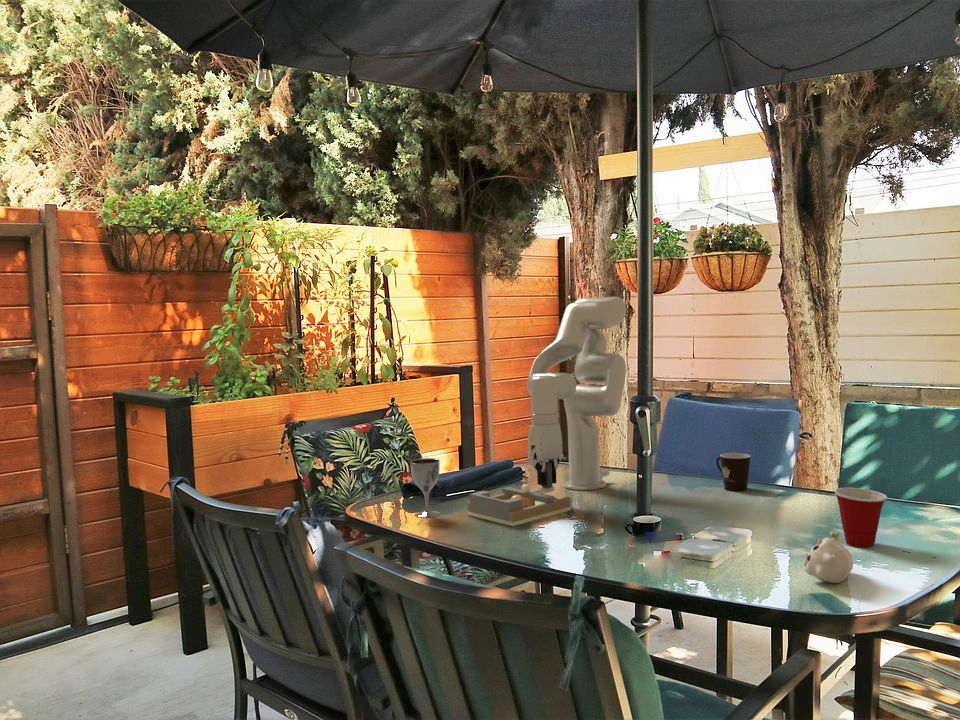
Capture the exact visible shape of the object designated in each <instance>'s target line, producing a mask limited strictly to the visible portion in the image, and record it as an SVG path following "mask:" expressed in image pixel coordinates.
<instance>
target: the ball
mask: <svg viewBox="0 0 960 720" xmlns="http://www.w3.org/2000/svg"><path fill="white" fill-rule="evenodd" d="M511 498H520V499H523V498H522V497H521V496H520V495H514V496H512V497H511ZM523 505H524V499H523Z"/></svg>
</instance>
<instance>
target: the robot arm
mask: <svg viewBox="0 0 960 720" xmlns="http://www.w3.org/2000/svg"><path fill="white" fill-rule="evenodd" d="M626 315H627V305H626V303H625V301H624V300H623V298H621V297H619V296H601V297H596V296H595V297H593V296H592V297H583V298H579V299H577V300H576V301H574V302H572V303H570V304H568V305H567V306H566V308H565V310H564V313H563V315H562V318H561V322H560V324H559V327H558V330H557V331H558V332H557V334H556V337H555V339H554V341H553V342H552V343H551V344H549V345H548V346H546V348H544V349H543V350H542V351H541V352H540V353H539V354H538V355H537V356H536V358H535V359H534V361H533V362H532V365H531V367H530V370H529V374H528V378H527V383H526V388H527V389H526V390H527V392H528V393H529V395H530V404H531V405H530V407H531V408H530V409H531V411H530V412H531V414H530V415H531V424H530V425H529V428H528V433H527V435H528V436H527V457H528V464H529V465H530V466H533V468H534V469H535V471H536V473H537V476H536V477H537V485H538V486H542V485H543V486H546V485H547V472H546V471H545V462H546V461H549V462H552V484H557V470H558V469H559V467H558V465H559V463H560V462H561V461H562V459H563V458H564V457H565V455H564V454H563V437H562V429H561V425H560V423H559V418H560V414H559V400H563V405H564V406H563V407H564V410H565V414H566V422H567V439H568V440H567V442H568V444H567V445H568V470H569V471H568V472H569V473H568V476H569V479H568V480H565V482H564V487H565V488H566V489H570V490H577V491H578V490H579V491H592V490H593V491H594V490H598V489H602V488H605V487H606V481H605V480H603V478H605V477H608V476H610V473H611V472H610V471H609V470H608V469H604V470H602V469H601V459H600V457H601V456H600V431H599V427H598V424H597V423H596V421H595V419H594V418H593V417H614V416H616V415H617V414H618V413H619V410H620V409H621V408H620V407H621V405H622V397H623V393H624V386H625V383H626V382H625V380H626V375H627V366H626V365H627V364H626V361H625V358H624V357H623V356H622V355H621V354H619V353H615V352H607V348H608V347H607V346H608V340H607V338H606V336H605V334H604V333H603V331H602V330H606V329H610V328H613V327H615V326H617V325H619V324H621V323H622V322H623V321H624V320H625V318H626ZM575 357H576V360H575V365H574V376H573V375H572V374H570V373H567V372H549V371H550V370H551V369H552V368H553V367H555V366H556V365H558V364H561V363H562V362H566V361H567V360H569V359H572V358H575ZM577 381H578V382H580V383H584V384H577V383H578V382H577Z"/></svg>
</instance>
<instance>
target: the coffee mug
mask: <svg viewBox="0 0 960 720" xmlns="http://www.w3.org/2000/svg"><path fill="white" fill-rule="evenodd" d="M719 462H720V464H719ZM750 464H751V454H747V453H740V452H731V453H730V452H728V453H727V452H726V453H722V454H720V455H719V456H718V457H717V458H716V466H717V468H718V470H719V471H720V472H721V474H722V480H723V487H724V490H725V491H728V492H736V493H737V492H746V491H747V490H748V484H749V483H748V482H749V473H750Z"/></svg>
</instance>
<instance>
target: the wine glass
mask: <svg viewBox="0 0 960 720" xmlns="http://www.w3.org/2000/svg"><path fill="white" fill-rule="evenodd" d="M440 466H441V463H440V459H438V458H433V457H430V458H428V457H426V458H417V459H412V460H411V461H410V472H411V476H412V477H411V478H412V480H413V482H414V483H415V485H416V486H417V487H418V488H419V489H420V490H421V492H422V493H423V497H424V502H425V503H424V504H425V510H423V511H418V512H416V513H414V517H416V518H420V519H423V518H424V519H429V518H430V519H431V518H436V517H439V516H440V515H441V512H440V511H436V510H435V511H434V510H430V508H429V497H430V492H431V491H432V490H433V488H434V486H435V485H436V484H437V483H438V479H439V477H440Z"/></svg>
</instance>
